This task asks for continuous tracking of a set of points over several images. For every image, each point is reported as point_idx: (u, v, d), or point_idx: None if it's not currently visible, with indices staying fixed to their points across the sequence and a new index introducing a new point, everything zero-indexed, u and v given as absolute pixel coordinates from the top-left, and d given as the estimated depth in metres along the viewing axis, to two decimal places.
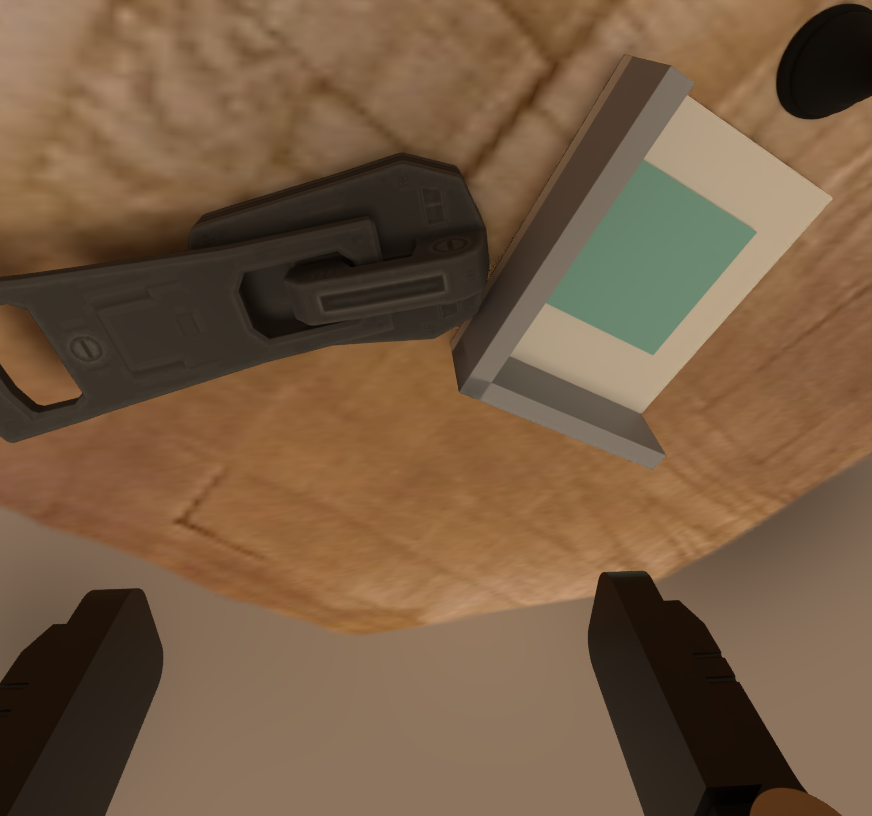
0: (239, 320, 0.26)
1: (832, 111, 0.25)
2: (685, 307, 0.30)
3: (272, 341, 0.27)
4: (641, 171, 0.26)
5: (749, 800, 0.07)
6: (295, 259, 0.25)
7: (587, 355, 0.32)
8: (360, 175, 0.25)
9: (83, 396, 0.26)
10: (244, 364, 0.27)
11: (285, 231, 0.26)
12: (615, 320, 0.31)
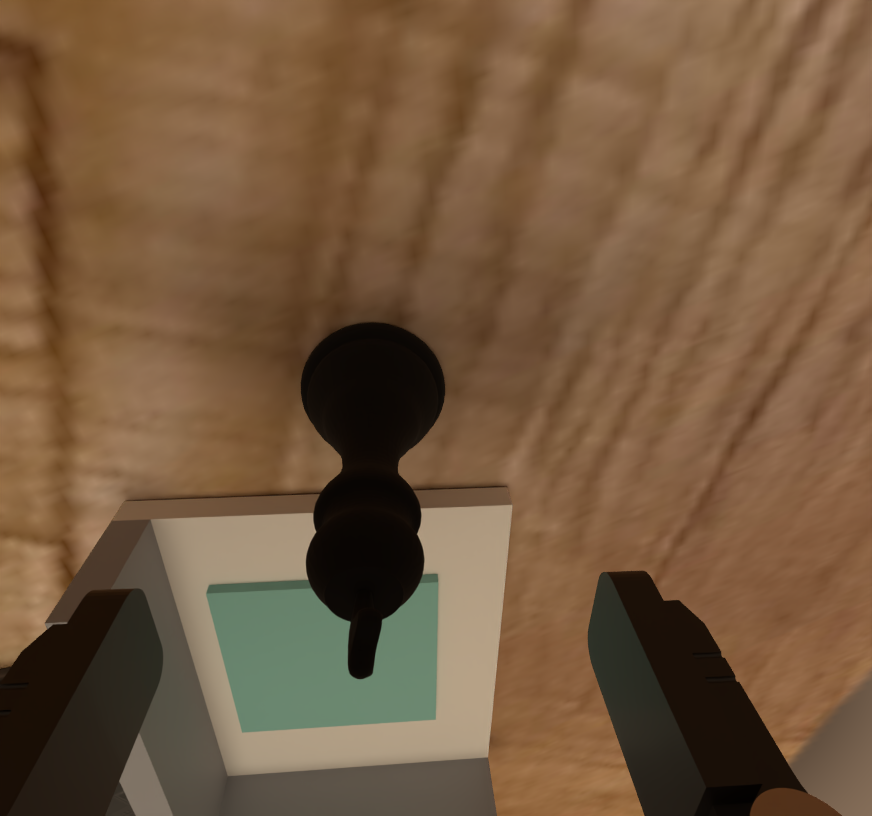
0: None
1: None
2: (426, 671, 0.22)
3: None
4: (228, 601, 0.19)
5: (749, 800, 0.07)
6: None
7: (360, 740, 0.25)
8: None
9: None
10: None
11: None
12: (352, 713, 0.23)
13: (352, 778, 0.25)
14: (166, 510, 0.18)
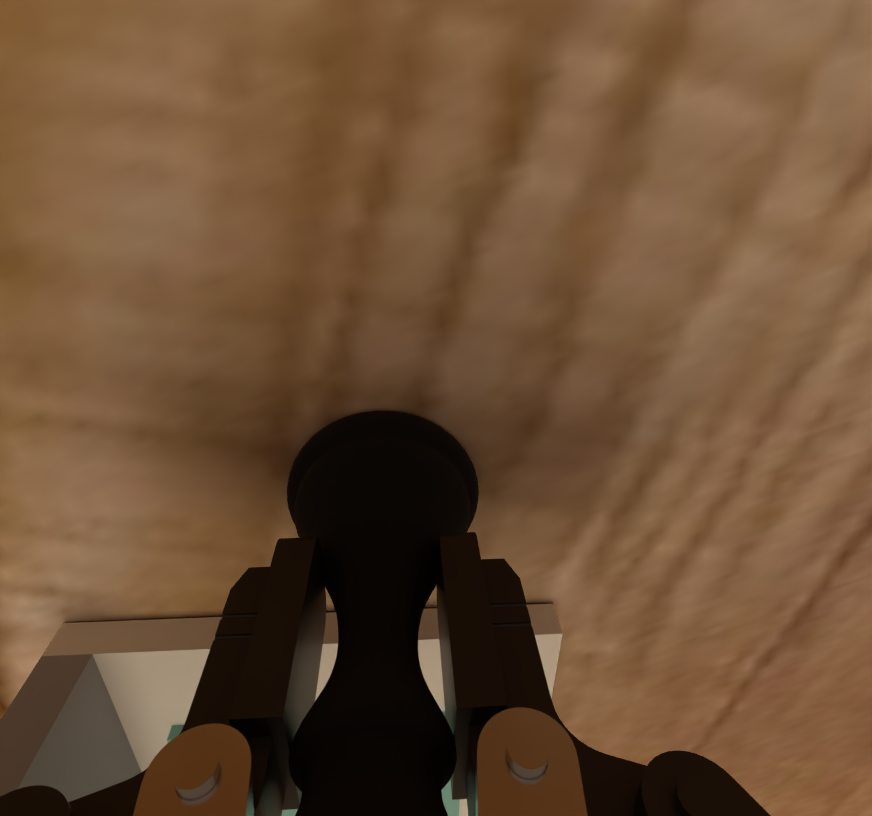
0: None
1: None
2: None
3: None
4: None
5: None
6: None
7: None
8: None
9: None
10: None
11: None
12: None
13: None
14: (115, 639, 0.14)
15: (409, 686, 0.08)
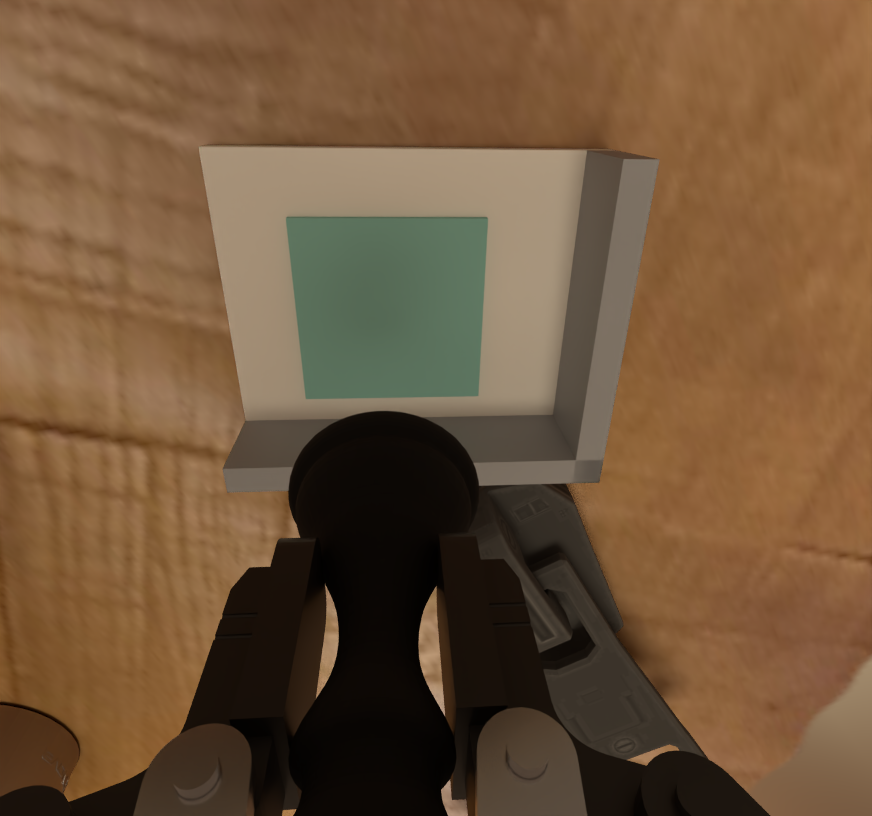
0: (581, 669, 0.31)
1: None
2: (408, 229, 0.22)
3: (597, 644, 0.31)
4: (314, 385, 0.25)
5: None
6: None
7: (523, 294, 0.24)
8: None
9: (668, 744, 0.33)
10: (622, 660, 0.31)
11: None
12: (464, 301, 0.24)
13: (570, 308, 0.24)
14: None
15: (409, 685, 0.08)
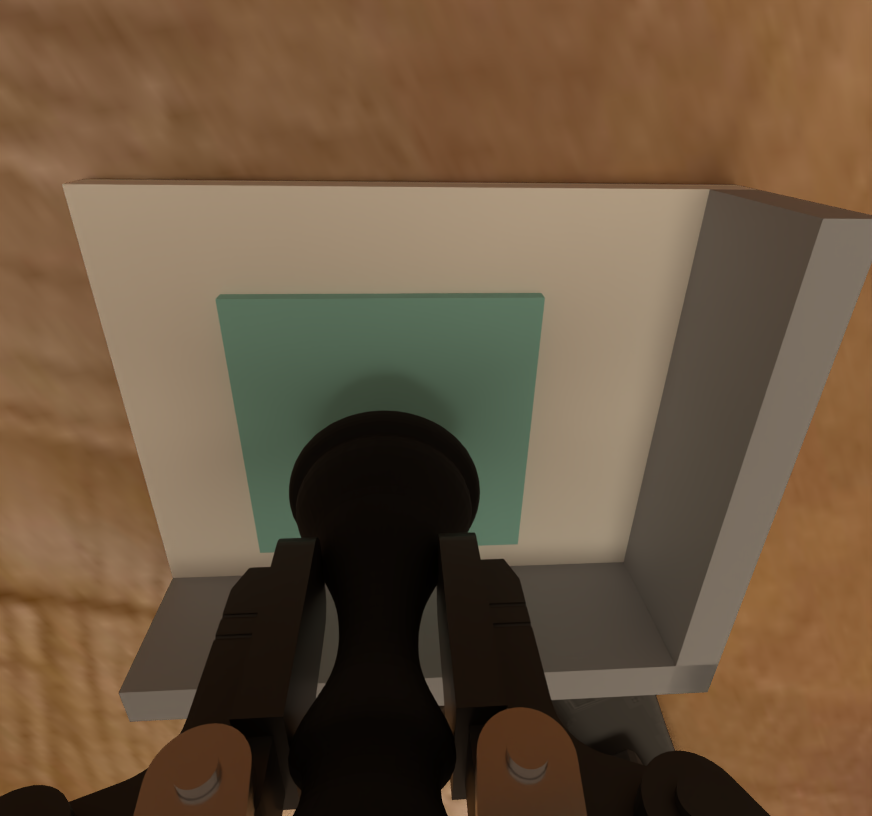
0: None
1: None
2: (417, 314, 0.14)
3: None
4: (272, 535, 0.17)
5: None
6: None
7: (591, 404, 0.16)
8: None
9: None
10: None
11: None
12: (502, 418, 0.15)
13: (664, 425, 0.16)
14: None
15: (409, 685, 0.08)
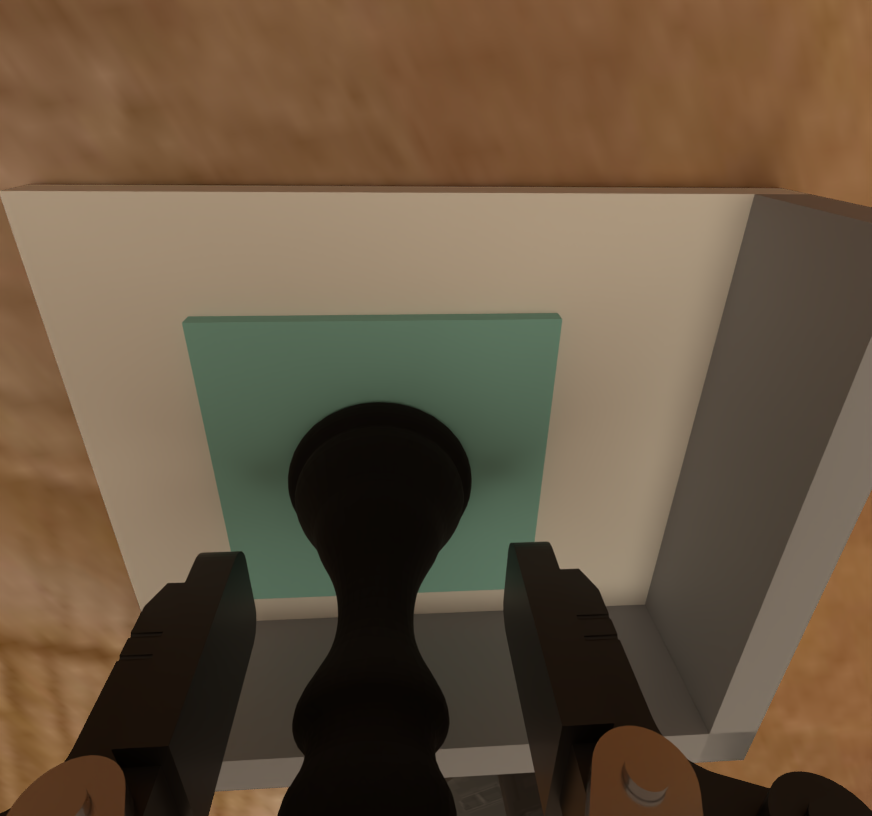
0: None
1: None
2: (415, 339, 0.12)
3: None
4: (254, 580, 0.15)
5: None
6: None
7: (613, 436, 0.14)
8: None
9: None
10: None
11: None
12: (512, 453, 0.14)
13: (695, 460, 0.14)
14: None
15: (405, 656, 0.08)
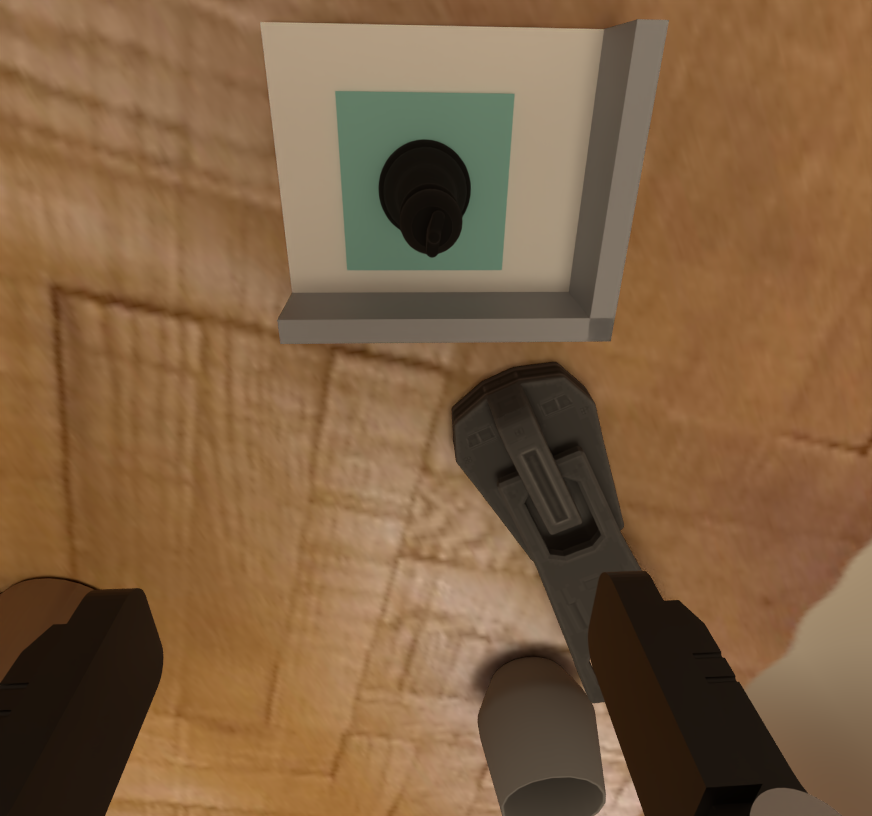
0: (586, 556, 0.35)
1: None
2: (443, 103, 0.25)
3: (602, 533, 0.35)
4: (355, 256, 0.28)
5: (749, 800, 0.07)
6: (534, 527, 0.34)
7: (544, 171, 0.27)
8: None
9: None
10: (623, 550, 0.35)
11: None
12: (491, 175, 0.27)
13: (586, 183, 0.27)
14: None
15: None
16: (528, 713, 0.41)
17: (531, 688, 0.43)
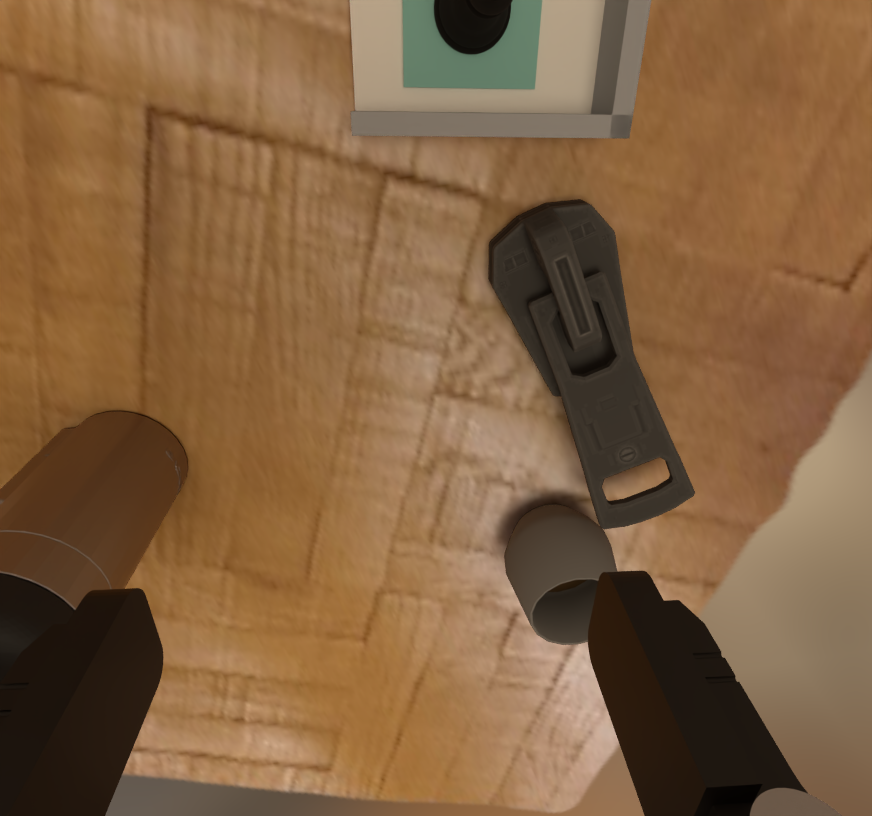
0: (603, 376, 0.40)
1: (488, 37, 0.31)
2: None
3: (618, 354, 0.40)
4: (411, 73, 0.33)
5: (749, 800, 0.07)
6: (559, 347, 0.39)
7: None
8: (505, 309, 0.40)
9: (661, 457, 0.43)
10: (636, 370, 0.40)
11: None
12: None
13: (607, 4, 0.32)
14: (355, 104, 0.35)
15: None
16: (552, 536, 0.46)
17: (554, 518, 0.47)
